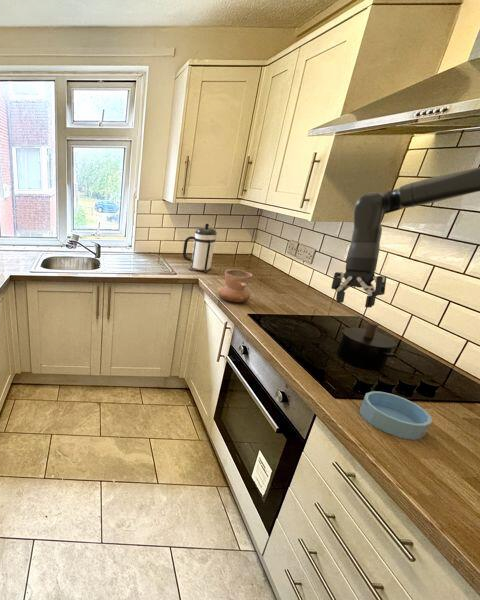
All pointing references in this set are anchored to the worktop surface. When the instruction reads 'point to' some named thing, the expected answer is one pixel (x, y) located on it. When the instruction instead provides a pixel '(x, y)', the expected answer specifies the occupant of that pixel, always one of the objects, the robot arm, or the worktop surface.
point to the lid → (369, 337)
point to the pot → (363, 355)
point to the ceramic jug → (235, 286)
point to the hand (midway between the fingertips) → (353, 304)
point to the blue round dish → (395, 415)
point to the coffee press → (201, 248)
